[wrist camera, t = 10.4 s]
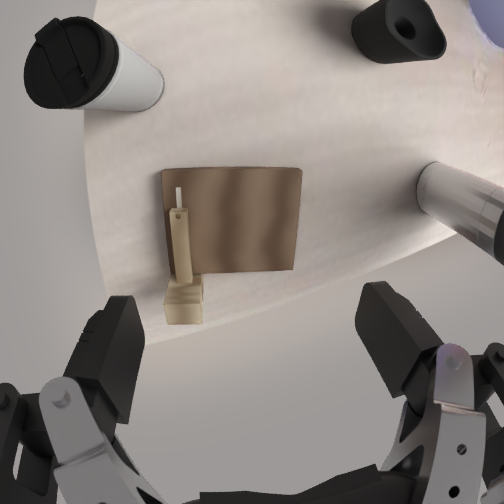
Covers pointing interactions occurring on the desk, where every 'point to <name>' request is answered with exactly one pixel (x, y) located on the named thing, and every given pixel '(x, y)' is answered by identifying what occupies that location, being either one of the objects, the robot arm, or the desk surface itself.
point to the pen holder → (399, 32)
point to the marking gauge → (183, 276)
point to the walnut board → (235, 216)
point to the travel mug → (88, 69)
